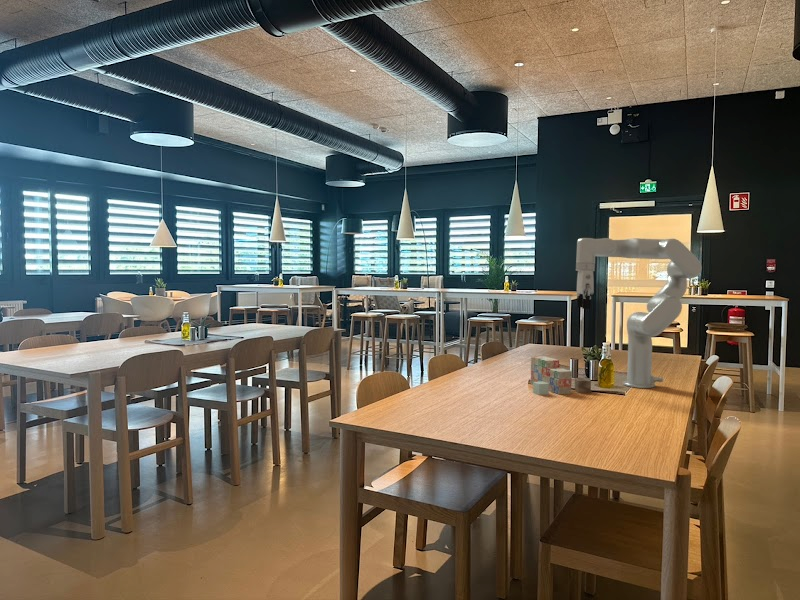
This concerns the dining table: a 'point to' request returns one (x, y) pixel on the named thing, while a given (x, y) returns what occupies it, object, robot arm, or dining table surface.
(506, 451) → the dining table surface
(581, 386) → the walnut cube
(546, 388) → the sage block
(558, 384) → the stack of blocks
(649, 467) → the dining table surface
